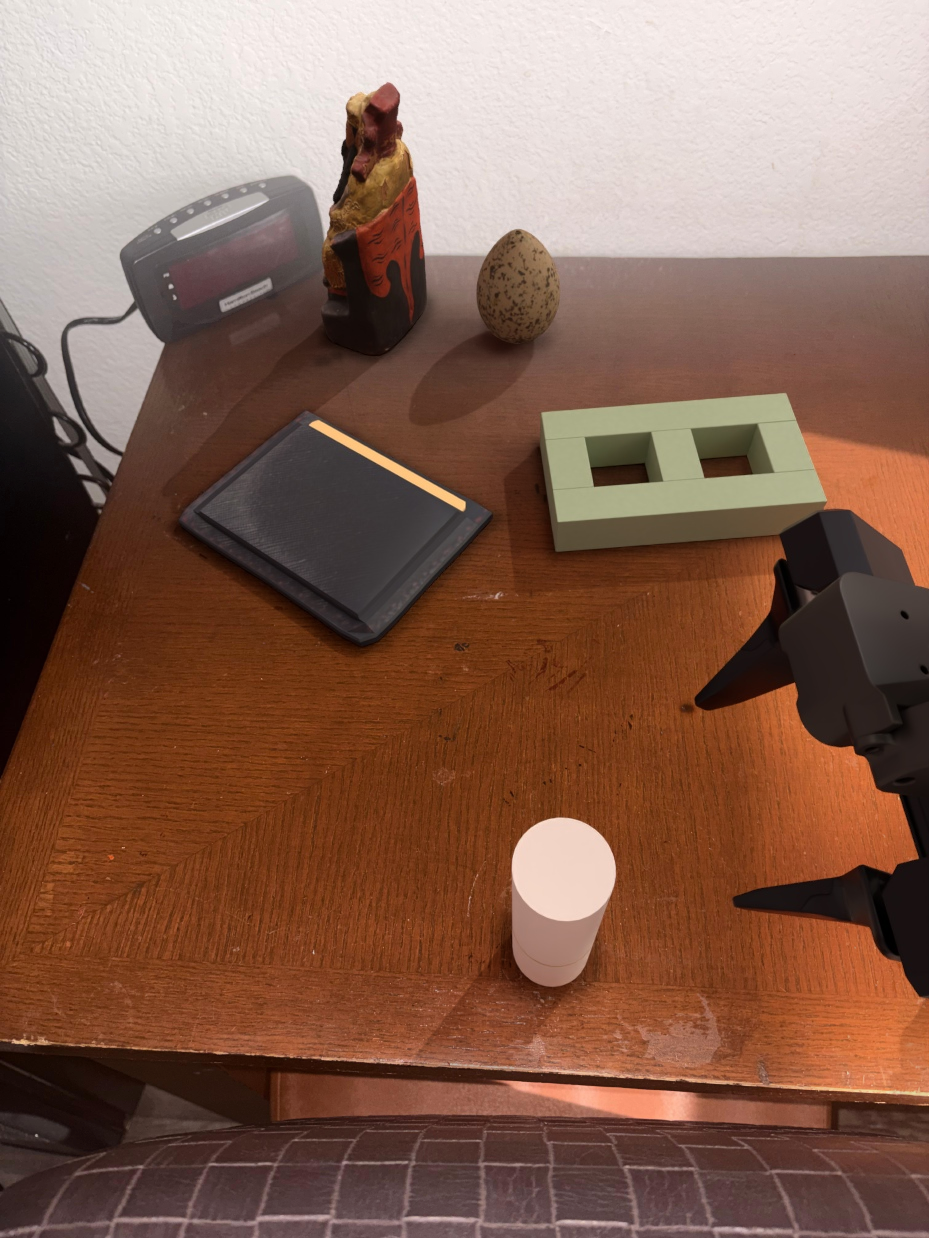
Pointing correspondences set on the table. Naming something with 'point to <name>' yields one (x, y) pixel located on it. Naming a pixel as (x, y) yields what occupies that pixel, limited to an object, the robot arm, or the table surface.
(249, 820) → the table surface
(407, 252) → the statue
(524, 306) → the decorative egg
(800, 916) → the robot arm
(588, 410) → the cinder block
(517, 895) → the tube
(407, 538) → the wallet
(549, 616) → the table surface
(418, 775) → the table surface
